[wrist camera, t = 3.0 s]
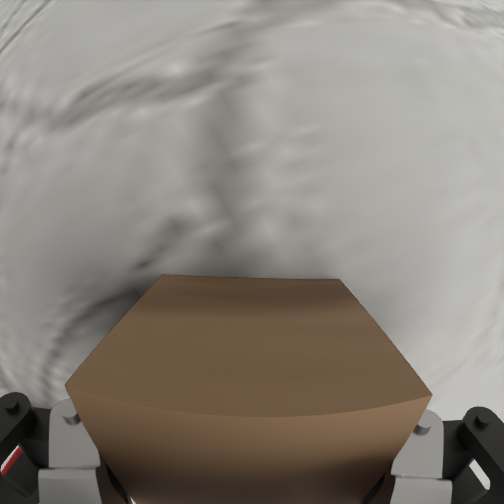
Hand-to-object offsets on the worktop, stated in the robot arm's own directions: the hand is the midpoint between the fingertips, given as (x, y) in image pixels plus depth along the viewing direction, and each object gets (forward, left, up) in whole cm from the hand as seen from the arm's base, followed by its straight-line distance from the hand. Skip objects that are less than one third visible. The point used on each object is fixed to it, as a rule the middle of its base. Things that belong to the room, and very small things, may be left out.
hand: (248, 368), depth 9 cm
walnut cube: (0, 0, -1) cm, 1 cm away
